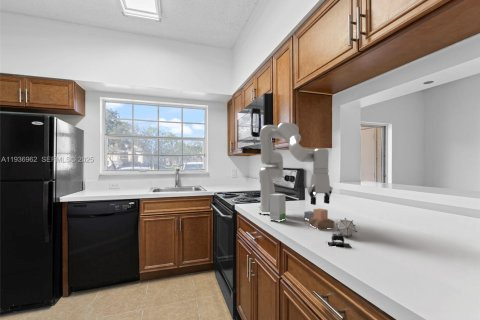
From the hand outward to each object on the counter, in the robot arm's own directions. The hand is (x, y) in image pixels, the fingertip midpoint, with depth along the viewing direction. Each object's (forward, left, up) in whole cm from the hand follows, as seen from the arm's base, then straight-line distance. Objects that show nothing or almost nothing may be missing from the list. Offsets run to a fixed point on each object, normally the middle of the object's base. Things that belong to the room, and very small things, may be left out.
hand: (320, 203), depth 121 cm
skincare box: (-21, -12, -12) cm, 27 cm away
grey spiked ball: (+18, -2, -12) cm, 22 cm away
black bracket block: (+24, -15, -13) cm, 31 cm away
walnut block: (+1, 0, -13) cm, 13 cm away
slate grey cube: (-13, +6, -12) cm, 19 cm away
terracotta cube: (0, 0, -8) cm, 8 cm away
